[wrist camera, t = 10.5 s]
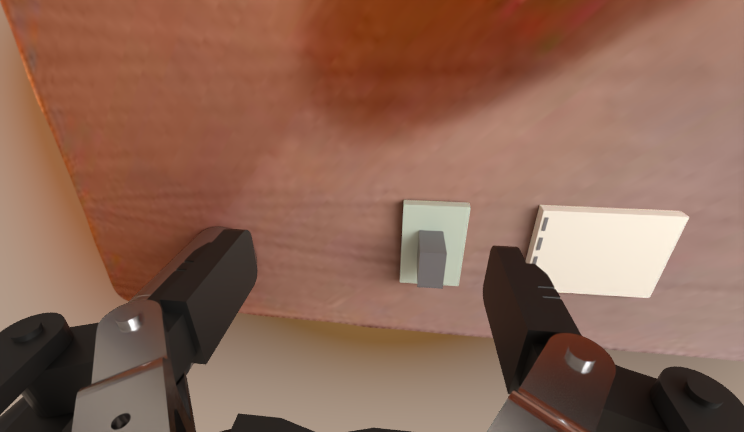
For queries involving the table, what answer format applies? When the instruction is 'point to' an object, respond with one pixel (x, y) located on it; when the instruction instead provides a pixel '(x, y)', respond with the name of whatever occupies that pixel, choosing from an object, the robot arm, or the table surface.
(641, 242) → the cream panel
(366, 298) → the table surface
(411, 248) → the stub
